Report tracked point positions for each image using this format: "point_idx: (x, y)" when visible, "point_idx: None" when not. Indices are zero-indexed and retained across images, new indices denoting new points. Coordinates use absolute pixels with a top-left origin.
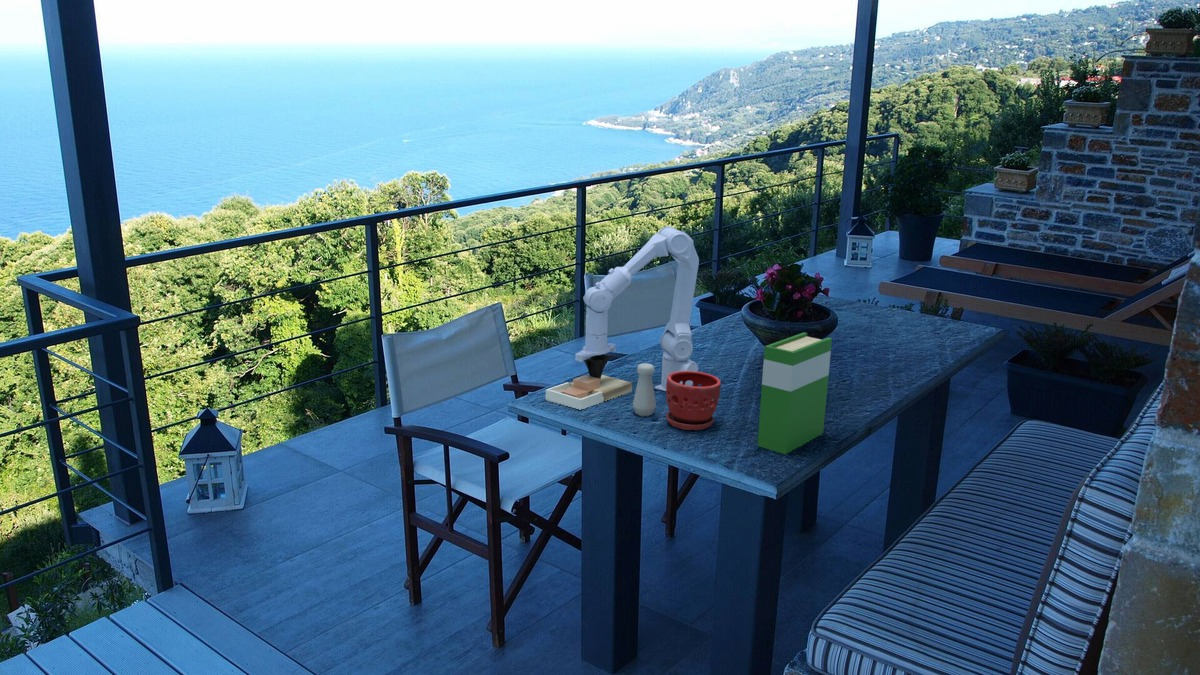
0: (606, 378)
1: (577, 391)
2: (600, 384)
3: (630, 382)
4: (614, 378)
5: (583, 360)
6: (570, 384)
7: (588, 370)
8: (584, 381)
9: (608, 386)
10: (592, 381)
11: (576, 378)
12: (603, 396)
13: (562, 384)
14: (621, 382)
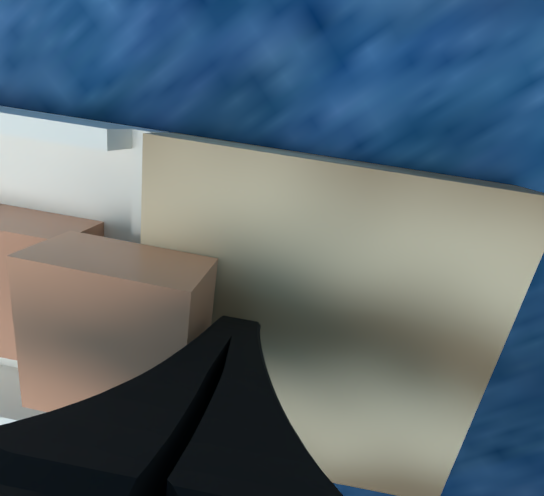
0: (448, 329)
1: (5, 316)
2: (278, 355)
3: (438, 493)
4: (480, 378)
5: (11, 425)
6: (145, 147)
7: (163, 364)
8: (40, 367)
9: None
10: None
11: (49, 269)
12: None
13: (27, 128)
14: (406, 450)
